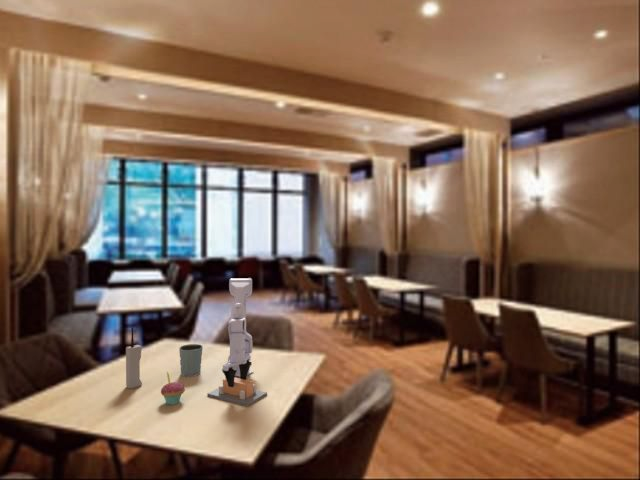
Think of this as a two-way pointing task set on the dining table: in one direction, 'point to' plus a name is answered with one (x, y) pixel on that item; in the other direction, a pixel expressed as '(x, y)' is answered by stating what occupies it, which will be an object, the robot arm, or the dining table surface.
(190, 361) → the drinking glass
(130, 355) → the vintage mobile phone
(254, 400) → the grey pegged plate
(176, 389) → the cupcake
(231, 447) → the dining table surface
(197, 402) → the dining table surface
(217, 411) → the dining table surface
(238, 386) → the long tan brick
